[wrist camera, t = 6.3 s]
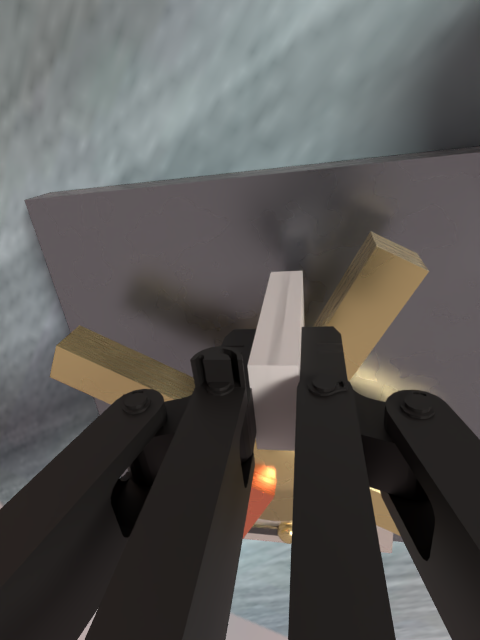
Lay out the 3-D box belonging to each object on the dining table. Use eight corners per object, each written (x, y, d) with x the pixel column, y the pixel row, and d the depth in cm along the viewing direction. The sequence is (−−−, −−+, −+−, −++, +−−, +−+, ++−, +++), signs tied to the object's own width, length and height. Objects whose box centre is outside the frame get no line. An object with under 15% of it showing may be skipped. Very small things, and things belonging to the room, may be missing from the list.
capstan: (156, 115, 16) (76, 116, 11) (604, 329, 16) (731, 428, 11) (69, 439, 25) (6, 520, 20) (350, 566, 26) (356, 675, 21)
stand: (50, 192, 20) (-2, 207, 17) (542, 139, 16) (599, 146, 12) (146, 493, 30) (125, 539, 27) (468, 518, 25) (489, 578, 22)
